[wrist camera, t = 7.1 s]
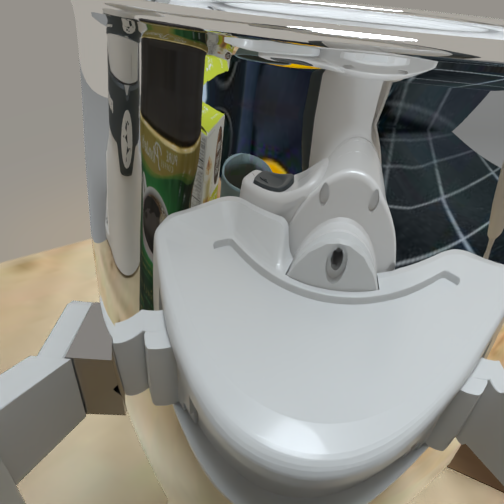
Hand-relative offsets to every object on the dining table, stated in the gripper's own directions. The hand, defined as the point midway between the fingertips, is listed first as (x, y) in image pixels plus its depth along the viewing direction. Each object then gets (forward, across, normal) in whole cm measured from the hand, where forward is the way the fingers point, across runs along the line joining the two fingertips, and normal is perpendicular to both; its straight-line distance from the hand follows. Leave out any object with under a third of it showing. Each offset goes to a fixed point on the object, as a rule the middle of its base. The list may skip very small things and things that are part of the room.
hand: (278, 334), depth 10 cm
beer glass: (-1, 0, +8) cm, 9 cm away
